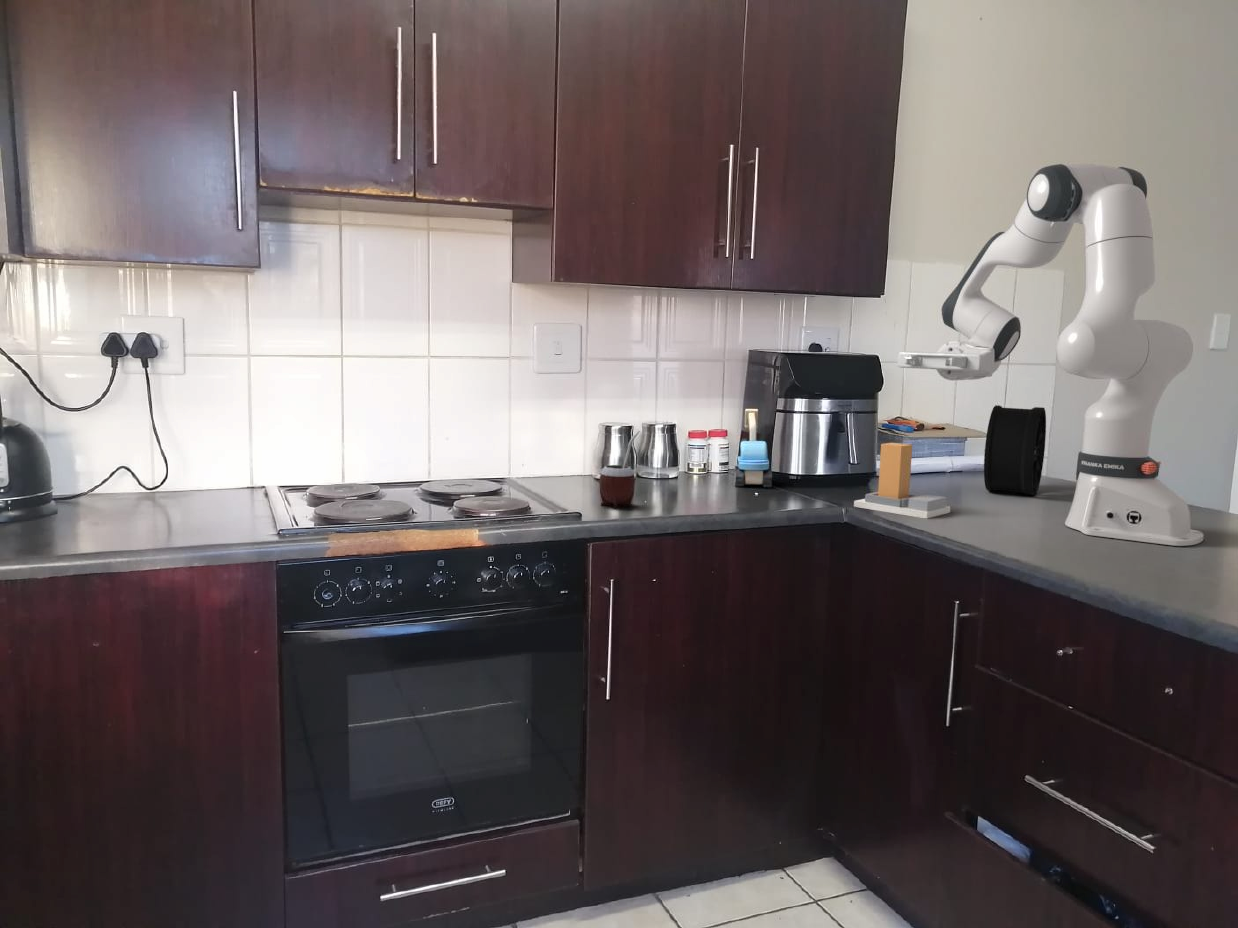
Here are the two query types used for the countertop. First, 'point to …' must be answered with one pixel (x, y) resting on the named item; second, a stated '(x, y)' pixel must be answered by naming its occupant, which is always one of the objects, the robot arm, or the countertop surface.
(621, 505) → the mate gourd
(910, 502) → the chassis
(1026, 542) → the countertop surface
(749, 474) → the toy excavator
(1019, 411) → the car wheel rim
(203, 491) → the countertop surface
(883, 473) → the tall tan wooden block
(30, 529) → the countertop surface
